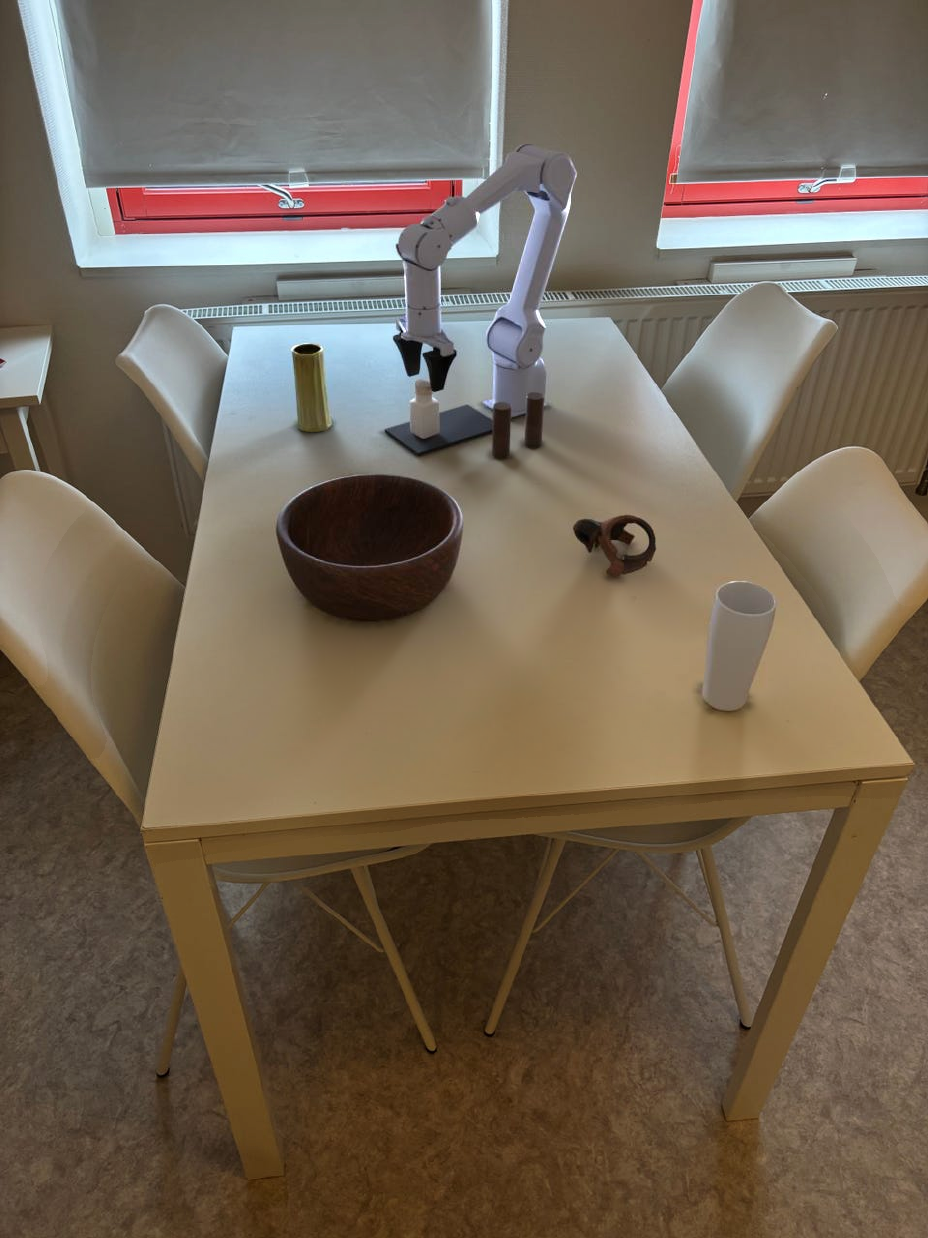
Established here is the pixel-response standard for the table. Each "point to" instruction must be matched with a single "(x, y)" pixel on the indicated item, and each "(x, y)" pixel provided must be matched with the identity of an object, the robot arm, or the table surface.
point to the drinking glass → (736, 642)
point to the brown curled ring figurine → (614, 530)
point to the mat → (445, 430)
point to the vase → (310, 388)
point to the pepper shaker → (424, 411)
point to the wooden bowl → (370, 544)
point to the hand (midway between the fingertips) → (425, 382)
